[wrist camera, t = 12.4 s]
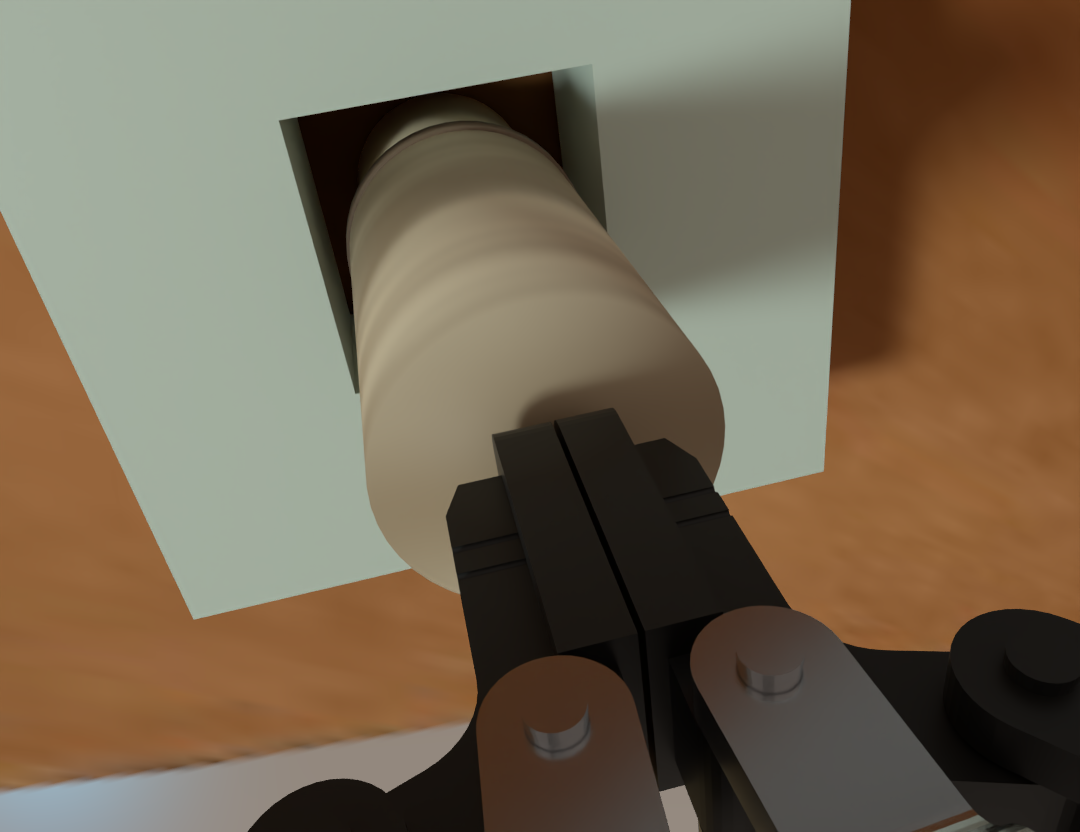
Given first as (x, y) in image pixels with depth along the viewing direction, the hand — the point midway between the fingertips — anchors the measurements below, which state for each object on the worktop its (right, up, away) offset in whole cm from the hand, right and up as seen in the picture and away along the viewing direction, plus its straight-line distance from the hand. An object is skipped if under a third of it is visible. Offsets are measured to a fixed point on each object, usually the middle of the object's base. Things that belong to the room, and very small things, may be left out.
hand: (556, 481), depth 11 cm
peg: (-2, +6, +10) cm, 12 cm away
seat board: (-2, +6, +10) cm, 12 cm away
